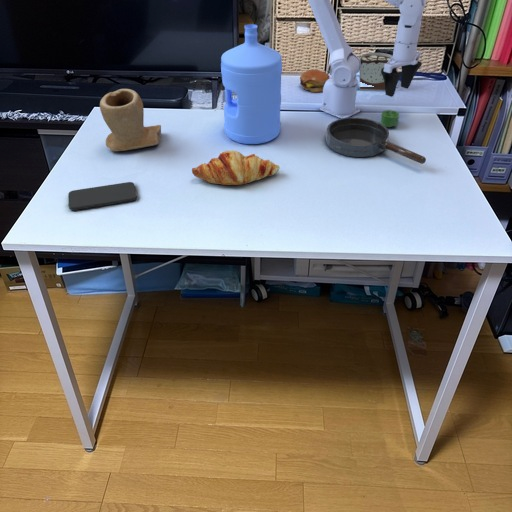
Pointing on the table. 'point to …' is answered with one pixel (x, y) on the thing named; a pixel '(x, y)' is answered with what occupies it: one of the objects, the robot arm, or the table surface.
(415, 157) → the pan handle
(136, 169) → the table surface
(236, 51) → the water jug
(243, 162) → the croissant
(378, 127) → the pan
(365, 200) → the table surface
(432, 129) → the table surface
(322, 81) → the burger
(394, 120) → the green short cylinder
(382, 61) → the food container
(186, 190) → the table surface
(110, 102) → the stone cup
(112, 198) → the phone
